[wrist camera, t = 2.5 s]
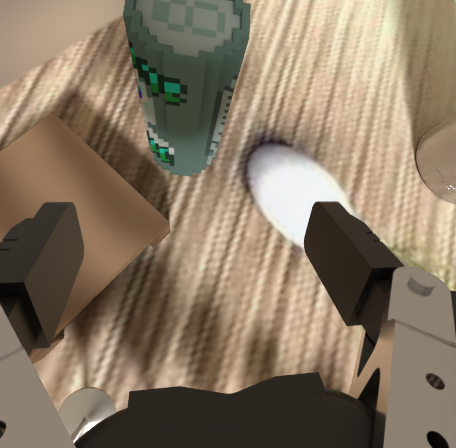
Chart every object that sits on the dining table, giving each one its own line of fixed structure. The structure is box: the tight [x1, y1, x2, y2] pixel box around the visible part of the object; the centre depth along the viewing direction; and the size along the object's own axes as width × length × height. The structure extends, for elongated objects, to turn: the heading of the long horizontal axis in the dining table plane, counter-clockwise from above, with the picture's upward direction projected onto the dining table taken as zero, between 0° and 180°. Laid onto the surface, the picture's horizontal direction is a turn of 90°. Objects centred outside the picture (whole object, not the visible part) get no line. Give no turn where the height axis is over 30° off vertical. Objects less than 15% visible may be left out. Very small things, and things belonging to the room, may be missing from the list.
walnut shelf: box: [0, 113, 170, 364], centre depth 24 cm, size 14×12×5 cm
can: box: [123, 0, 251, 176], centre depth 22 cm, size 6×6×15 cm
